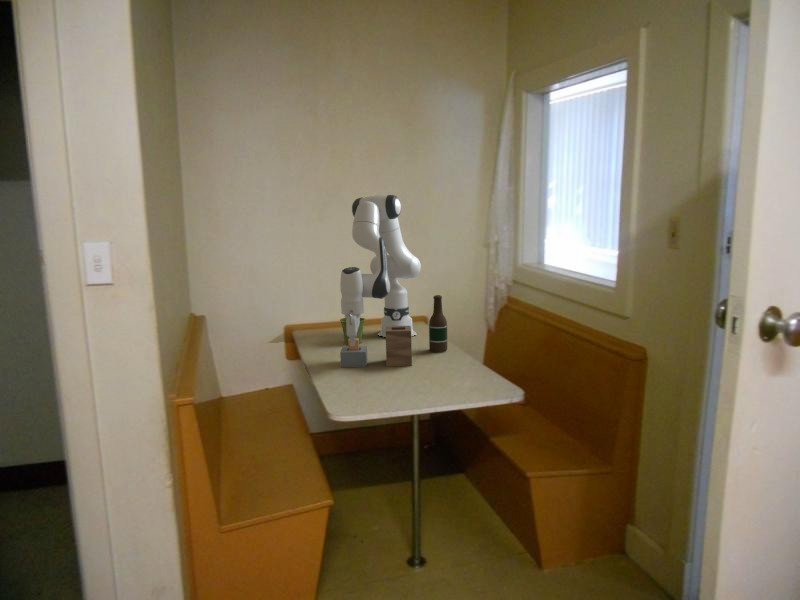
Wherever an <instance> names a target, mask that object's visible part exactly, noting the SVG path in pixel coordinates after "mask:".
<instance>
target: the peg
mask: <svg viewBox="0 0 800 600" xmlns="http://www.w3.org/2000/svg"><path fill="white" fill-rule="evenodd" d="M347 346H349V351H351V350H359V346H360V344H359V338H355V346H351V345H350V339H349V340H348V344H347Z"/></svg>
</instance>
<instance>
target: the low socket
mask: <svg viewBox="0 0 800 600" xmlns="http://www.w3.org/2000/svg"><path fill="white" fill-rule="evenodd" d="M339 354H340V357H339V358H340V368H366V367H367V364H368V361H369V360H368V346H367V345H359V350H351V351H349V346H348V345H347V346H346V345H345V346H343V345H342V347H341V349H340V353H339Z"/></svg>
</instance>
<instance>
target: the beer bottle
mask: <svg viewBox="0 0 800 600" xmlns="http://www.w3.org/2000/svg"><path fill="white" fill-rule="evenodd" d="M442 299H443V296H442V295H438V294H435V295H433V312H432V315H431V316H430V318H429V323H428V331H429V332H428V339H429V341H428V343H429V345H428V346H429V351H430V352H431V353H438V352H439V353H445V352H447V351H448V321H447V318H446V317H445V315H444V312H443V303H442V302H443V300H442ZM446 350H447V351H446Z"/></svg>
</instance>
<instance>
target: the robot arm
mask: <svg viewBox="0 0 800 600" xmlns="http://www.w3.org/2000/svg"><path fill="white" fill-rule="evenodd" d="M401 205H402V204H401V200H400V198H398V196H397V195H395V194H394V195H393V194H380V195H379V194H378V195H377V194H376V195H371V196H365V197H358V198H356V199H355V200H354V201H353V202H352V205H351V213H352V216H353V222H352V232H351V236H352V239H353V240H354V242H355V244H357V246H359V247H361V248H363V249H365V250H368V251H370V252H373V253H374V254H375V256H374V257H373V258H372V259H371V261H370V265H369V267H370V268H369V269H370V272H371V273H362V271H361V269H360V268H359V267H356V266H350V267H346V268H343V269H342V270H341V273H340V283H339V284H340V285H339V288H340V294H341V298H340V299H341V300H340V308H341V310H340V311H341V314H342V315H344V318H347V319H346V330H347V336H348V337H349V338H350V345H351V346H355V338H357V331H358V328H359V324H360V317H361V318H362V316H361V315H362V314H363V313H364V311H365V309H364V307H365V306H364V298H373V299H378V300H379V299H381V300H382V299H384V306H383V317H382V318H381V319H380V325H381V326H380V331H379V332H378V333H377V335H379V336H384V337H386V326H411V337H415V336H414V335H416V336H417V332H416V331H415V330H414V329H413V318H412V317H411V316H410V315H409V314H410V307H409V304H408V302H409V301H408V300H409V299H408V293H409V292H408V290H407V288H405V286H403V285H402V284H401V283H400V282H399V281H398V279H406V280H407V279H414V278H417V277H418V276H419V275H420V273H421V270H422V264H421V261H420V259H419V258H418V257H416V256H415V255H414V254H413V253H411V251H410V250H409V249H408V248H407V246H406V245H405V242H404V239H403V235H402V231H401V226H400V221H399V218H398V217H399V216H400V214H401V212H402V206H401ZM387 253H388V254H387ZM379 336H378V337H379ZM384 337H383V338H384Z"/></svg>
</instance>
